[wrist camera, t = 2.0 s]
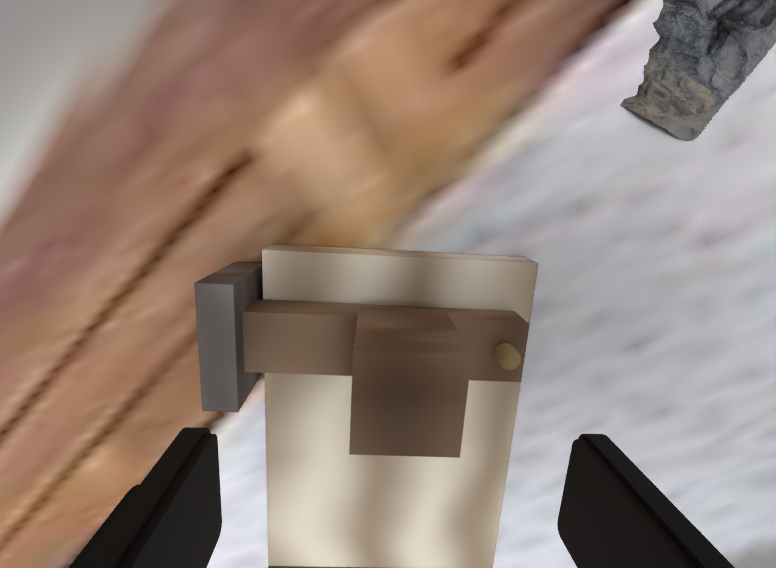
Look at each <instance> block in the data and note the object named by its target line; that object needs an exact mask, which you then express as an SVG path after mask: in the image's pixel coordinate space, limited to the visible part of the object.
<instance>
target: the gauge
mask: <svg viewBox="0 0 776 568" xmlns="http://www.w3.org/2000/svg"><path fill="white" fill-rule="evenodd" d="M194 286H195V301H196V317H197V333H198V348H199V364H200V379H201V395H202V411H219V412H239V410H240V408H241V407H242V405H243V403H244V402H245V400H246V398H247V397H248V395H249V394H250V392H251V390H252V389H253V387H254V385H255V384H256V382H257V381H258V379H259V377H260V376H261V374H262V373H284V374H311V375H338V376H352V392H351V418H350V445H349V455H384V456H419V457H454V458H460V453H461V444H462V436H463V427H464V418H465V410H466V401H467V392H468V384H469V380H473V381H501V382H521V377H522V370H523V363H524V357H525V350H526V343H527V337H528V330H529V323H528V322H526V321H525V320H524V319H523V318H522V317H521V316H520V315H519V314H517V313H516V312H515V311H503V310H480V309H458V308H436V307H413V306H391V305H369V304H346V303H324V302H302V301H279V300H263V271H262V263H244V262H234V263H232V264H230V265H228V266H226V267H224V268H222V269H220V270H219V271H217V272H215V273H213V274H211V275H209V276H207V277H205V278H203V279H201V280H199V281H198V282H196V283H194Z"/></svg>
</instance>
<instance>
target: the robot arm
mask: <svg viewBox="0 0 776 568" xmlns="http://www.w3.org/2000/svg"><path fill="white" fill-rule="evenodd" d="M221 526H222V514H221V496H220V478H219V460H218V441H217V436H216V434H211V433H210V430H209V429H208V428H183V429H182V430H181V431H180V433H179V434H178V435H177V437H176V438H175V439H174V441H173V442H172V443H171V445H170V446H169V447H168V449H167V450H166V451H165V452H164V454H163V455H162V456H161V458H160V459H159V460H158V462H157V463H156V464H155V466H154V467H153V468H152V470H151V471H150V472H149V474H148V475H147V476H146V477H145V479H144V480H143V481H142V483H141V484H140V485H136V486H134V487H132V488H131V489H130V490H129V491H128V492H127V494H126V495H125V496H124V498H123V499H122V500H121V501H120V503H119V504H118V505H117V506H116V508H115V509H114V510H113V512H112V513H111V514H110V515H109V517H108V518H107V519H106V521H105V522H104V523H103V524H102V526H101V527H100V528H99V530H98V531H97V532H96V533H95V535H94V536H93V537H92V538H91V540H90V541H89V542H88V544H87V545H86V546H85V547H84V549H83V550H82V551H81V553H80V554H79V555H78V556H77V558H76V559H75V560H74V561H73V563H72V564H71V565H70V567H69V568H206V567H207V565H208V563H209V560H210V558H211V555H212V553H213V551H214V548H215V546H216V544H217V541H218V539H219V536H220V532H221ZM558 531H559V534H560V537H561V539H562V541H563V543H564V544H565V546H566V548H567V550H568V552H569V553H570V555H571V557H572V559H573V561H574V562H575V564H576V566H577V568H734V567H733V565H732V564H731V563H730V562H729V561H728V560H727V559H726V558H725V557H724V556H723V555H722V554H721V553H720V552H719V551H718V550H717V549H716V548H715V547H714V546H713V545H712V544H711V543H710V542H709V541H708V540H707V539H706V538H705V537H704V536H703V535H702V534H701V532H700V531H699V530H698V529H697V528H696V527H695V526H694V525H693V524H692V523H691V522H690V521H689V520H688V519H687V518H686V517H685V516H684V515H683V514H682V513H681V512H680V511H679V510H678V509H677V508H676V507H675V506H674V505H673V504H672V503H671V502H670V501H669V500H668V498H667V497H666V496H665V495H664V494H663V493H662V492H661V491H660V490H659V489H658V488H657V487H656V486H655V485H654V484H653V483H652V482H651V481H650V480H649V479H648V478H647V477H646V476H645V475H644V474H643V473H642V472H641V471H640V470H639V469H638V468H637V467H636V465H635V464H634V463H633V462H632V461H631V460H630V459H629V458H628V457H627V456H626V455H625V454H624V453H623V452H622V451H621V450H620V449H619V448H618V447H617V446H616V445H615V444H614V443H613V442H612V441H611V440H610V439H609V438H608V437H607V436H606V435H603V434H581V435H580V436H579V438H578V439H576V440H574V442H573V444H572V449H571V454H570V460H569V465H568V470H567V475H566V480H565V486H564V491H563V496H562V501H561V506H560V512H559V517H558Z"/></svg>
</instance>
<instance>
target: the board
mask: <svg viewBox="0 0 776 568" xmlns="http://www.w3.org/2000/svg"><path fill="white" fill-rule="evenodd" d="M537 269H538V263H536V262H534V261H532V260H529V259H527V258H525V257H515V256H496V255H476V254H456V253H437V252H417V251H398V250H378V249H358V248H339V247H319V246H299V245H280V244H272V245H270V246H268V247H266V248H264V249H262V271H263V300H279V301H302V302H324V303H346V304H369V305H391V306H413V307H436V308H458V309H480V310H503V311H515V312H516V313H517V314H519V315H520V316H521V317H522V318H523V319H524V320H525V321H526V322H528V323H529V322H530V316H531V309H532V302H533V296H534V289H535V282H536V276H537ZM519 389H520V382H501V381H473V380H469V384H468V392H467V401H466V410H465V418H464V427H463V436H462V444H461V453H460V458H454V457H419V456H384V455H349V445H350V418H351V392H352V376H338V375H311V374H284V373H265V414H266V462H267V510H268V558H269V567H268V568H493V562H494V556H495V549H496V542H497V536H498V529H499V522H500V516H501V509H502V502H503V496H504V489H505V482H506V476H507V469H508V462H509V456H510V449H511V442H512V436H513V429H514V422H515V416H516V409H517V402H518V396H519Z"/></svg>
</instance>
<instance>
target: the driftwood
mask: <svg viewBox="0 0 776 568" xmlns="http://www.w3.org/2000/svg"><path fill="white" fill-rule="evenodd" d="M663 3H664V5H663V8H662V10H661V12H660V16H659V18H658V20H656V21H655V22H654V23H653V25H654V27H655V29H656V31H657V33H658V34H659V36H660V39H659V41H658V42H657V43H656V44H655V45H654V46H653V47H652V48H651V49H650V52H649V61H648V63H647V64H646V65H645V66H644V69H645V70H644V81H643V83H642V84H640V85H639V88H638V92H637V93H638V94H637V95H636V96H633V97H630V98H627V99H624V101H623V102H622V103H621V106H622V107H623V106H625V107H626V108H628V109H629V110H632V111H634V112H635V113H637V114H640V115H641V116H642V117H644V118H645V119H648V120H652V122H653V123H656V125H657V126H659V127H661V128H665V129H666V130H668V132H669V133H671V134H673V135H674V136H675V137H677V138H678V139H681V140H682V139H684V140H686V141H691V140H694V139H695V138H697V137H698V135H699V134H701V132H702V131H703V130H704V129H705V127H706V125H707V124H708V123H709V121H710V120H712V117H713V116H714V115H715V113H717V112H718V110H719V109H720V108H721V106H722V105H723V104H724V103H725V101H726V100H728V98H729V96H731V95H732V94H733V93H734V92H735V91H736V90H737V89H738V88H739V87H740V85H741V84H742V82H744V81H745V79H746V77H747V76H748V75H750V73H751V72H753V69H754V68H755V67H756V66H757V65H758V64H759V62H760V61H761V60H762V59H763V58H764V57H765V55H766V54H767V52H768V51H769V50H770V49H771V48H772V47H773V45H774V44H775V42H776V0H663Z"/></svg>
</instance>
